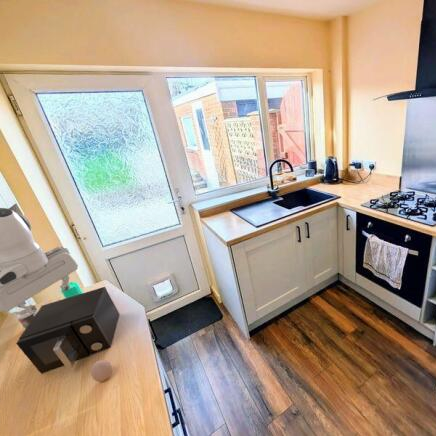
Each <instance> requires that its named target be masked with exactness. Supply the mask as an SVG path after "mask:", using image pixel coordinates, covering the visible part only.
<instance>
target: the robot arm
mask: <svg viewBox="0 0 436 436" xmlns="http://www.w3.org/2000/svg"><path fill="white" fill-rule="evenodd" d="M78 268H79V264H78V263H77V262H76V260H75V259H74V257H72V255H70V251H69V249H68V248H67V247H66V246H56V247H54V248H53V249H51V250H48V251H46V252H44V250H43V248H42V247H41V246H40V244H38V243H37V242H36V241H35V239H34V235H33V232H32V227H31V224H30V221H29V220H28V219H27V217H25V216H23V215H22V214H20V213H18V212H16V211H15V210H13V209H10V208H6V207H0V313H8V312H9V311H11V310H13V309H14V308H23V309H25V310H26V311H27V312H28V313H33V312H34V311H36V312H37V311H38V309H37V307H36V306H35V305H34V304H28V305H29V306H24V305H27V302H26V301H27V300H29V299H31V298H33V297H34V296H36V295H37V294H40V293H41V292H42V291H44V290H46V289H48V288H49V287H51V286H52V285H54V284H56V283H57V282H59V281H60V280H61V285H59V288H60V290H61V289H62V290H63V291H66V290H68V289H69V288H70V286H69V283H70V276H69V275H71V274H72V273H74V272H76V271H77V270H78Z"/></svg>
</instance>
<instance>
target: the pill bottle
mask: <svg viewBox="0 0 436 436" xmlns="http://www.w3.org/2000/svg"><path fill="white" fill-rule="evenodd" d="M29 305H30V304H26V305H24V306H29ZM37 312H38V311H37V310H36V311H34V312H33V313H28V312H27V311H26V310H25V309H23V308H19V307H17V308H16V309H15V313H16V319H17V320H18V321H19V323H20V324H21V325H22V327H23V328H24V330H25V329H26V328H27V326H28V325H29V324H30V322H31V321H32V319H33V318H34V316H35V315H36V314H37Z"/></svg>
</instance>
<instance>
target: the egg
mask: <svg viewBox="0 0 436 436" xmlns="http://www.w3.org/2000/svg"><path fill="white" fill-rule="evenodd" d="M112 373H113V365H112V363H111V362H109V361H108V360H105V359H101V360H98V361H96V362H94V364H93V365H92V366H91V369H90V376H91V378H92V379H93V381H96V382H103V381H106V380H108V379H109V377H110V376H111V375H112Z"/></svg>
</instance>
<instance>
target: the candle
mask: <svg viewBox="0 0 436 436" xmlns="http://www.w3.org/2000/svg"><path fill="white" fill-rule="evenodd" d="M69 286H70V288H69V289H68V290H66V291H63V290H62V289H61V288H60V292H61V294H62V295H63V297H64V299H66V298H69V297H72V296H76V295H79V294H82V293H84V291H83V289H82V288H81V287H80V284H79V283H78V281H71V282H70V281H69Z"/></svg>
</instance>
